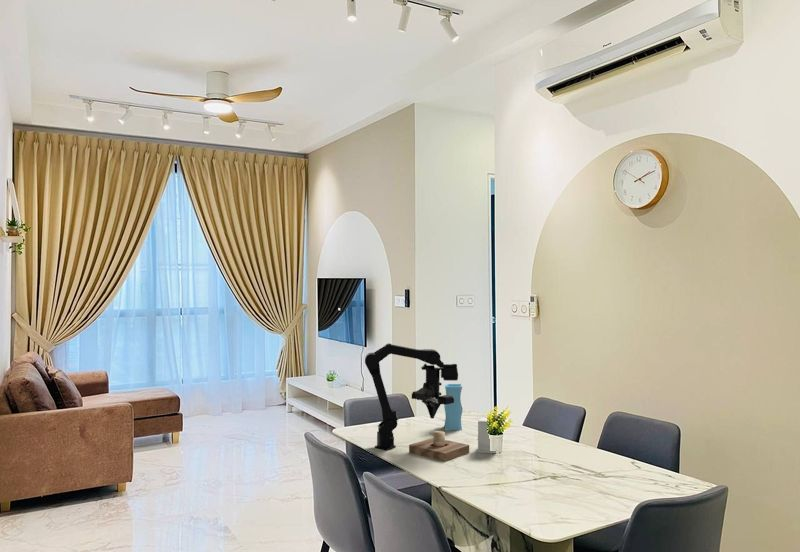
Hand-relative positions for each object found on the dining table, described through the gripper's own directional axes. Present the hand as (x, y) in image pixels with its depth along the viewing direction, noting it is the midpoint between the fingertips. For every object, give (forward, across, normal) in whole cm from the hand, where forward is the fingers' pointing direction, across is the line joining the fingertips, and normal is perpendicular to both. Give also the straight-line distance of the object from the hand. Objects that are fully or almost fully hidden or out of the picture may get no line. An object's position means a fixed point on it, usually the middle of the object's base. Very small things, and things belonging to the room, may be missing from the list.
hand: (432, 418), depth 250 cm
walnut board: (+12, +7, -4) cm, 14 cm away
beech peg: (+12, +7, -4) cm, 14 cm away
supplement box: (+12, +20, +12) cm, 26 cm away
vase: (+12, -14, +32) cm, 37 cm away
